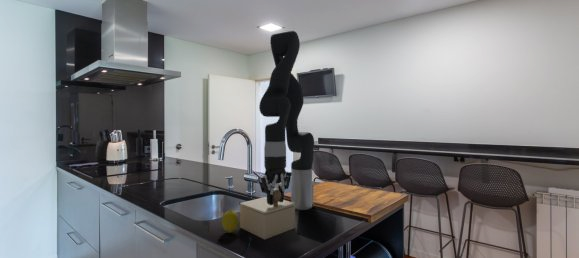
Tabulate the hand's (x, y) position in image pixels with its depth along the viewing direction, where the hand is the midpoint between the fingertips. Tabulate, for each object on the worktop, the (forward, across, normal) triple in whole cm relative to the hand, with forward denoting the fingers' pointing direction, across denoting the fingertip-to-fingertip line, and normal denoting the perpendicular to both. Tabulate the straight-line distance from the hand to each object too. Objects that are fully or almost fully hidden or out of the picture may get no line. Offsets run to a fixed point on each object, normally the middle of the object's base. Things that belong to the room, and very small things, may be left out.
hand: (275, 202), depth 101 cm
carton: (+10, 0, -4) cm, 11 cm away
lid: (+2, 0, -4) cm, 5 cm away
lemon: (+10, +12, -10) cm, 19 cm away
